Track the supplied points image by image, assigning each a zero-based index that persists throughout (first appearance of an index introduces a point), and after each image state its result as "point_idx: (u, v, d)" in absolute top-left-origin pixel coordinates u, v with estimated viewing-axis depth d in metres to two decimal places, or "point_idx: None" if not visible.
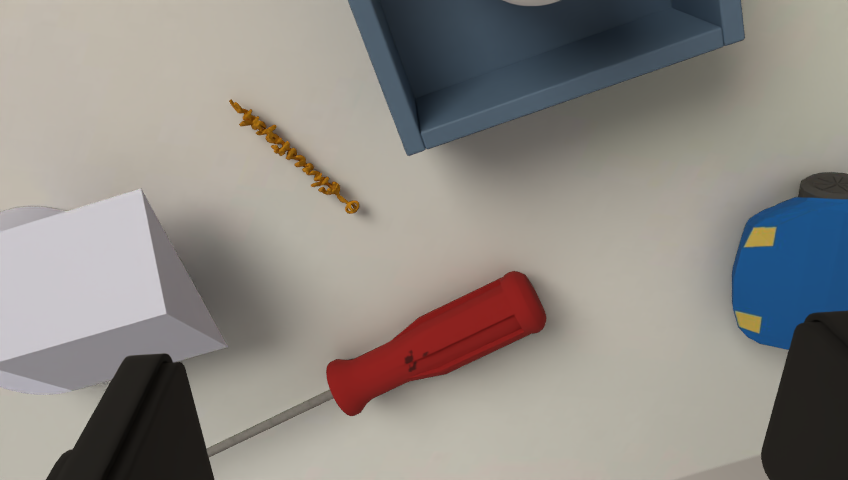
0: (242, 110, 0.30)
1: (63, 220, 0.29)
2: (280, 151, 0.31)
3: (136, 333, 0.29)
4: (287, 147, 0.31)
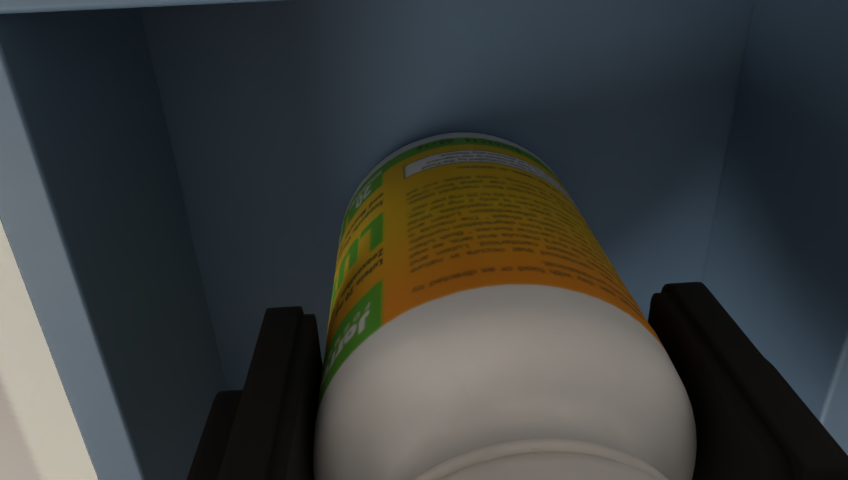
0: None
1: None
2: None
3: None
4: None
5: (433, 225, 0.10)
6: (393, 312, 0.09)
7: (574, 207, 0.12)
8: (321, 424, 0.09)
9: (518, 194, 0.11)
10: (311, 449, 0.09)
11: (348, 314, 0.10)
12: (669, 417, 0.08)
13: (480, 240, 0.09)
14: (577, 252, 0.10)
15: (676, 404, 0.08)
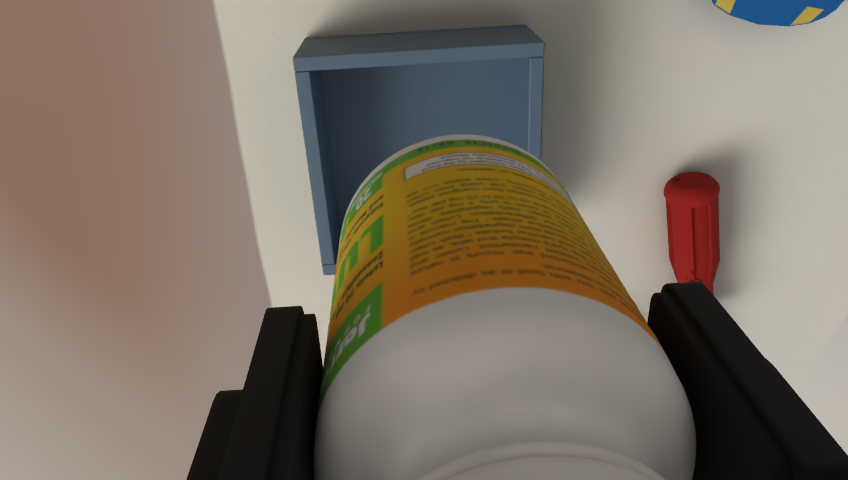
0: None
1: None
2: None
3: None
4: None
5: (433, 228, 0.10)
6: (394, 315, 0.09)
7: (574, 209, 0.12)
8: (321, 427, 0.09)
9: (518, 196, 0.11)
10: (311, 449, 0.09)
11: (348, 317, 0.10)
12: (668, 419, 0.08)
13: (480, 242, 0.09)
14: (578, 255, 0.10)
15: (677, 407, 0.08)
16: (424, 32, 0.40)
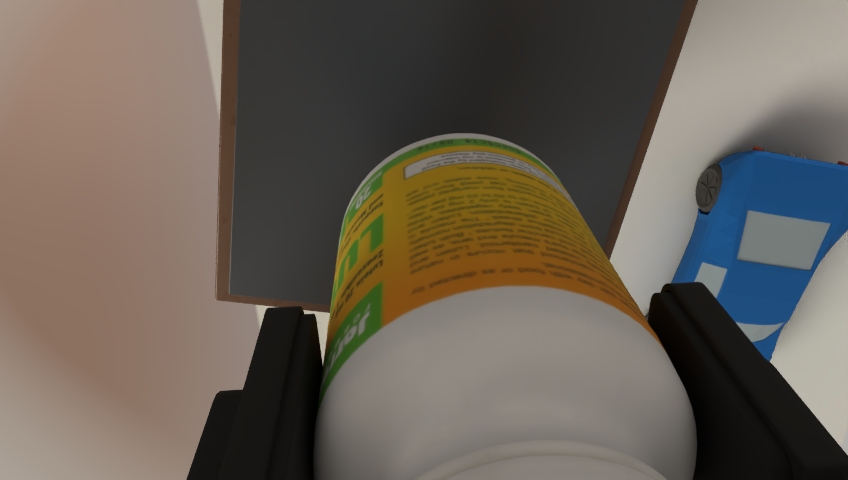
0: None
1: None
2: None
3: None
4: None
5: (433, 226, 0.10)
6: (394, 314, 0.09)
7: (574, 208, 0.12)
8: (321, 426, 0.09)
9: (518, 195, 0.11)
10: (311, 449, 0.09)
11: (348, 316, 0.10)
12: (669, 418, 0.08)
13: (480, 241, 0.09)
14: (578, 253, 0.10)
15: (677, 406, 0.08)
16: None
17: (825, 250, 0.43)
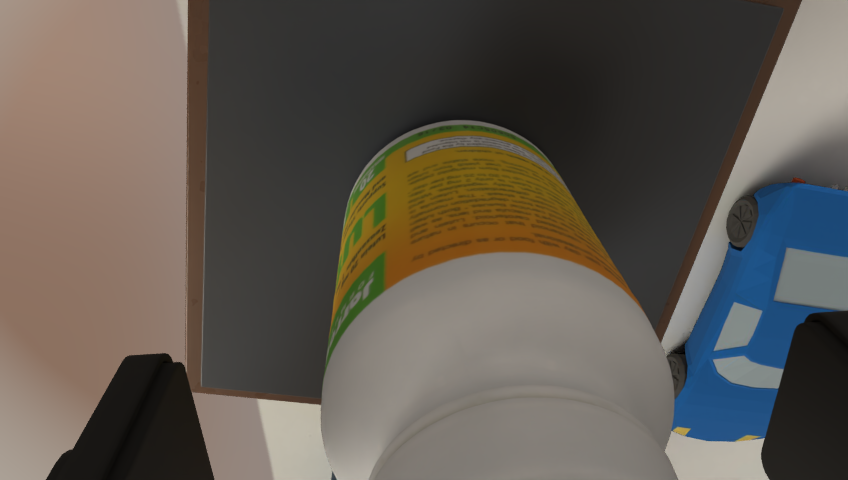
0: None
1: None
2: None
3: None
4: None
5: (432, 202, 0.11)
6: (395, 279, 0.09)
7: (565, 189, 0.13)
8: (329, 381, 0.09)
9: (512, 175, 0.12)
10: None
11: (353, 284, 0.11)
12: (647, 373, 0.09)
13: (475, 214, 0.10)
14: (566, 227, 0.10)
15: (655, 362, 0.09)
16: None
17: None
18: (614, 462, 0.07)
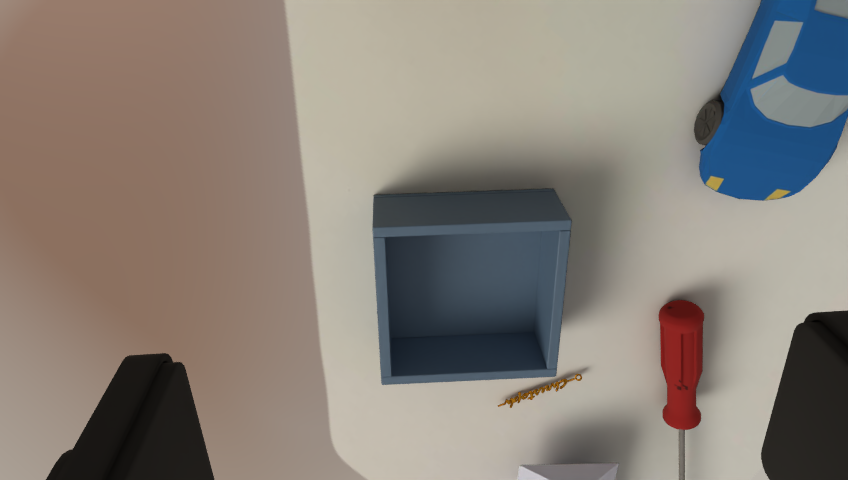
0: (505, 403, 0.59)
1: None
2: (532, 398, 0.58)
3: None
4: (532, 393, 0.58)
5: None
6: None
7: None
8: None
9: None
10: None
11: None
12: None
13: None
14: None
15: None
16: (471, 193, 0.49)
17: None
18: None
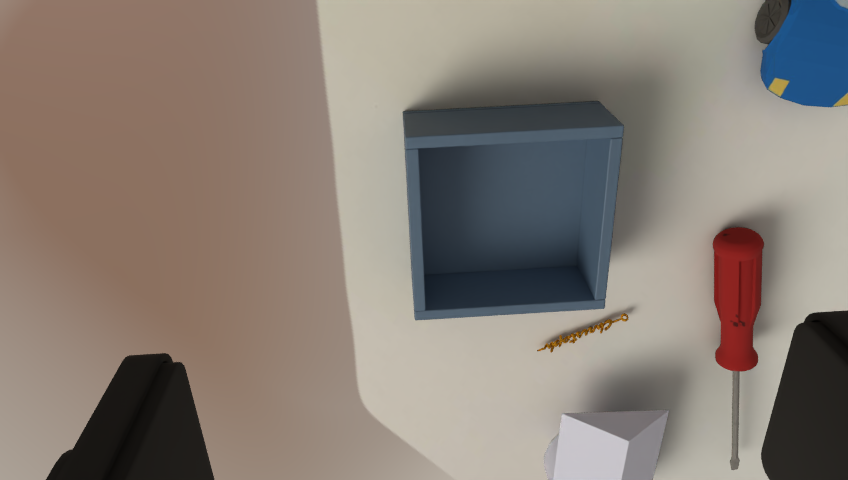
0: (545, 347, 0.54)
1: (561, 449, 0.56)
2: (574, 340, 0.54)
3: (633, 454, 0.53)
4: (574, 335, 0.54)
5: None
6: None
7: None
8: None
9: None
10: None
11: None
12: None
13: None
14: None
15: None
16: (509, 107, 0.45)
17: None
18: None
